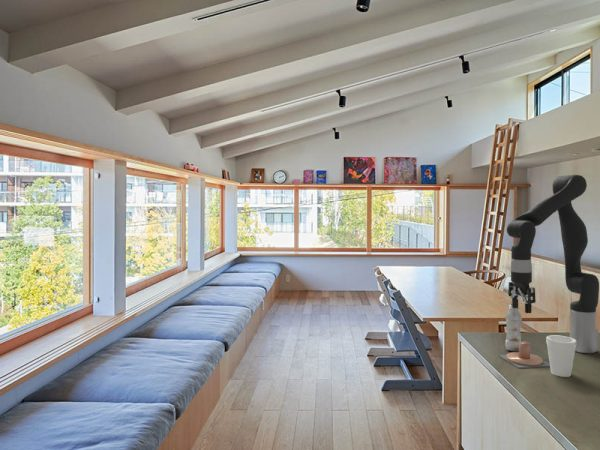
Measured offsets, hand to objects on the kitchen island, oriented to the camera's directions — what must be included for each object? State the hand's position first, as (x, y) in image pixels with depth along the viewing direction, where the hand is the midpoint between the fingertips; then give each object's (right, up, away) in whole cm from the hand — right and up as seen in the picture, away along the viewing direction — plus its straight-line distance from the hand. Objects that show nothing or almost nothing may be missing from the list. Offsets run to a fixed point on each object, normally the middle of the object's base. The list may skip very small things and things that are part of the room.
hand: (521, 310), depth 174 cm
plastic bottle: (+3, -20, +12) cm, 24 cm away
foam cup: (+8, -21, -13) cm, 26 cm away
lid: (+1, -20, 0) cm, 20 cm away
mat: (+1, -20, 0) cm, 20 cm away
